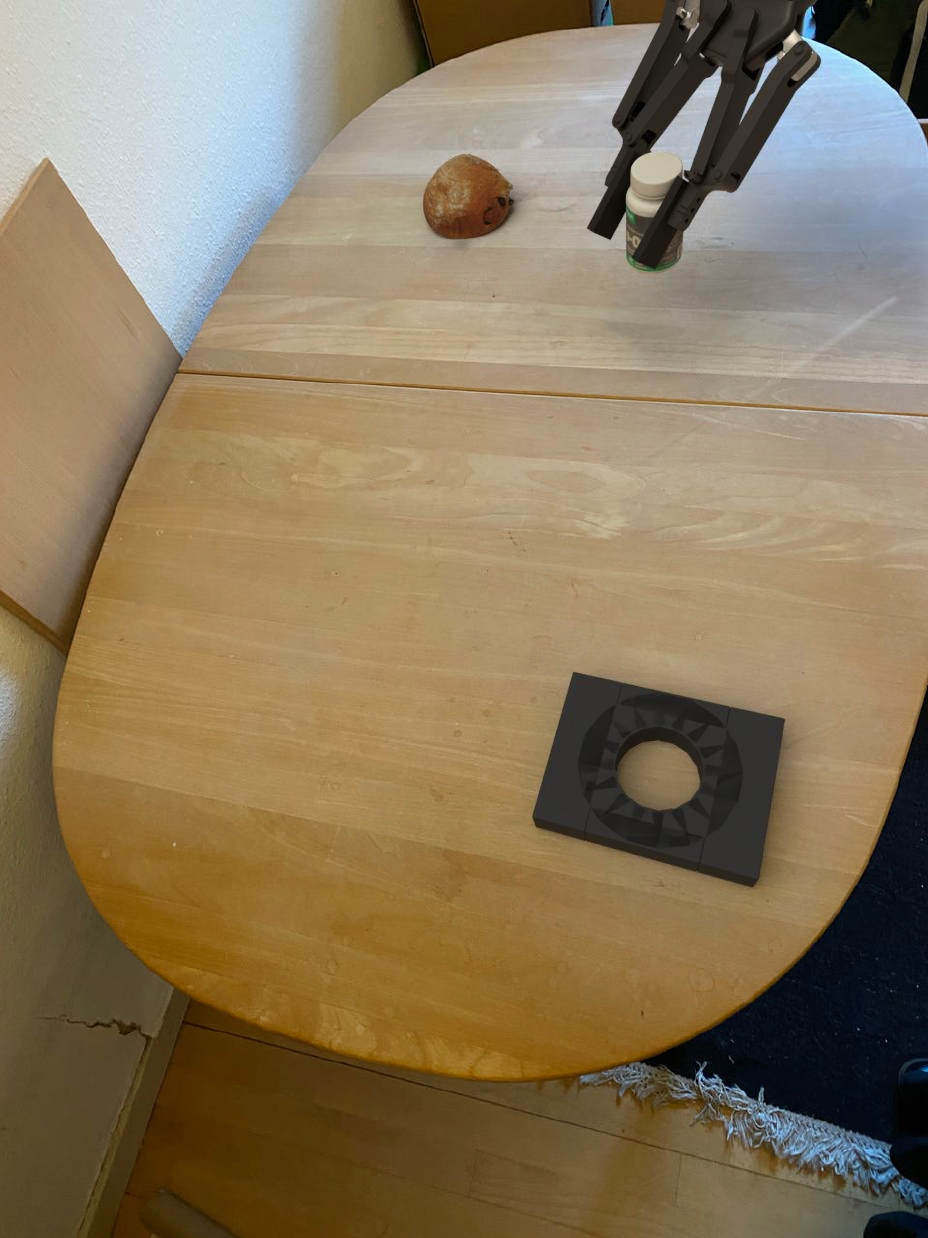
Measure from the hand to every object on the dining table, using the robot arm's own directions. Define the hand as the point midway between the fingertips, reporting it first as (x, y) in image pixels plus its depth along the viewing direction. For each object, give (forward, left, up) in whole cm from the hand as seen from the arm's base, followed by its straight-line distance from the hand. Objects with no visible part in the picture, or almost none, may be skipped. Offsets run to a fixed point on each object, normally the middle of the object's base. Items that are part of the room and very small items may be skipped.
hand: (620, 248), depth 69 cm
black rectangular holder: (-12, +38, -16) cm, 43 cm away
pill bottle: (-2, -3, -3) cm, 5 cm away
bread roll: (+23, -24, -16) cm, 37 cm away
